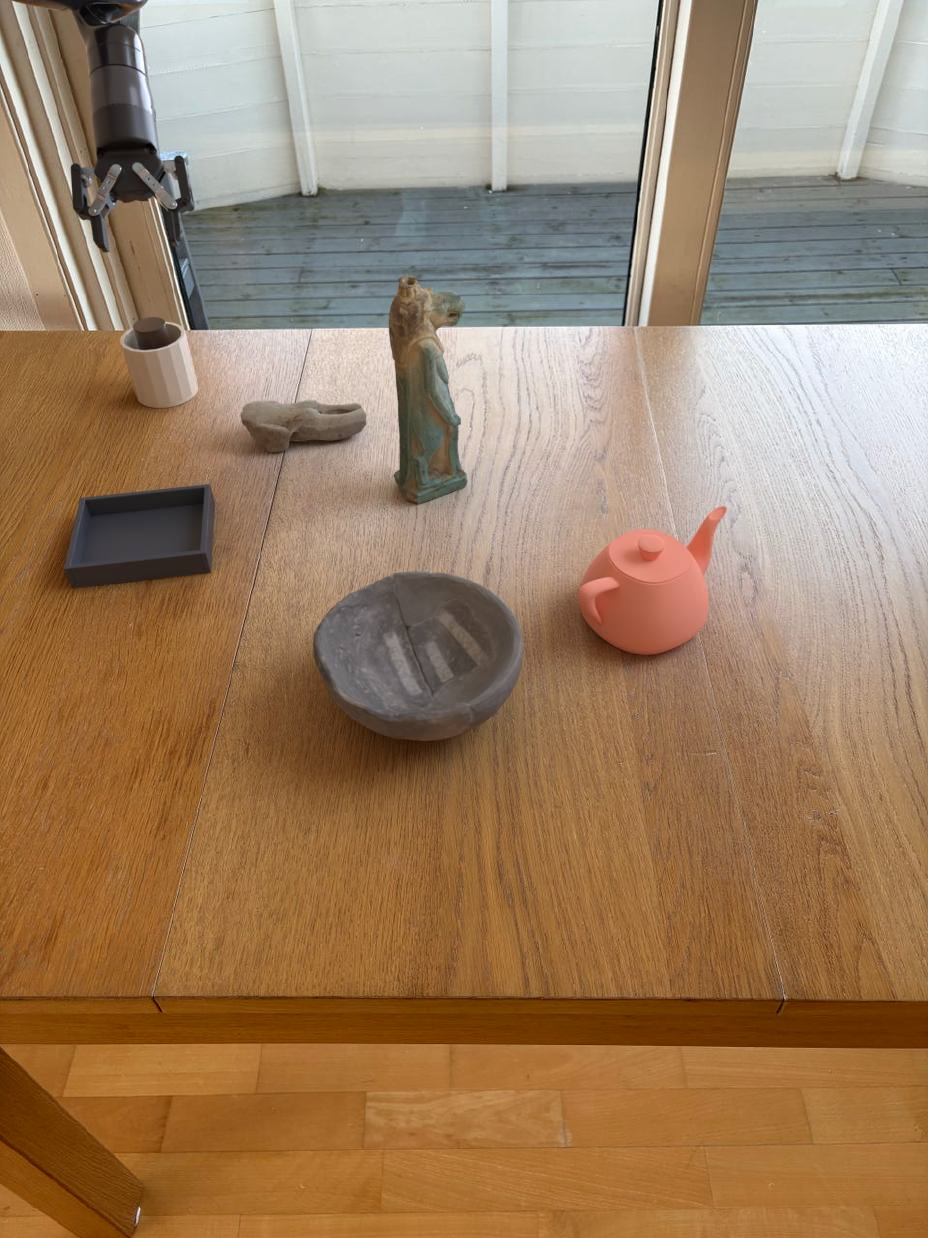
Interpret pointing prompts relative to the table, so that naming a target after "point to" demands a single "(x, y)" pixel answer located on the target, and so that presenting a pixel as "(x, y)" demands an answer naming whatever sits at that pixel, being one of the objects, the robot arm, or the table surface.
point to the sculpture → (300, 422)
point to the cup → (161, 369)
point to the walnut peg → (151, 333)
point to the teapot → (649, 588)
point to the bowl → (419, 655)
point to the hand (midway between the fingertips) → (139, 247)
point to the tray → (141, 536)
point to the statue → (424, 392)
